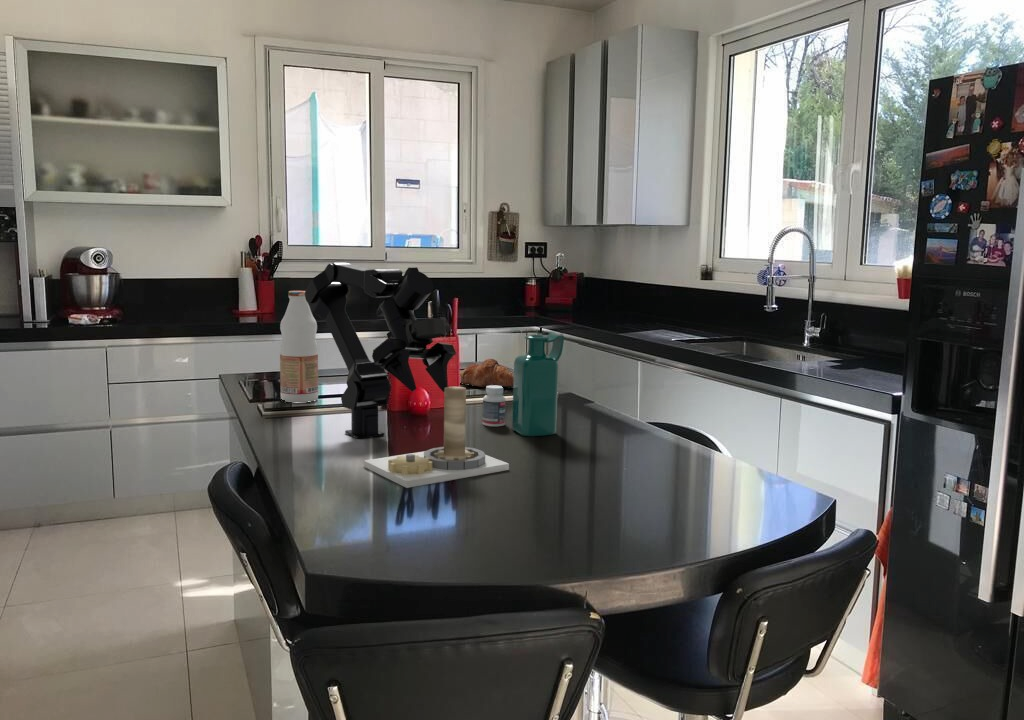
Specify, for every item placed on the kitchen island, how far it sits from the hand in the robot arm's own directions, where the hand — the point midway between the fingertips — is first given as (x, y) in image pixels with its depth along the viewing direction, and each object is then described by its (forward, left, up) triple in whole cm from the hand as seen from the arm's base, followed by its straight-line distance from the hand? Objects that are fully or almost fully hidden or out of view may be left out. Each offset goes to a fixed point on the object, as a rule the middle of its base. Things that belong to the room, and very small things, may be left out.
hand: (430, 390), depth 170 cm
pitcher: (-7, +32, -14) cm, 35 cm away
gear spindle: (+9, 0, -12) cm, 15 cm away
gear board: (+7, -3, -13) cm, 16 cm away
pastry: (-61, +56, -14) cm, 84 cm away
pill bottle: (-18, +28, -14) cm, 36 cm away
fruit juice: (-66, +1, -14) cm, 67 cm away
